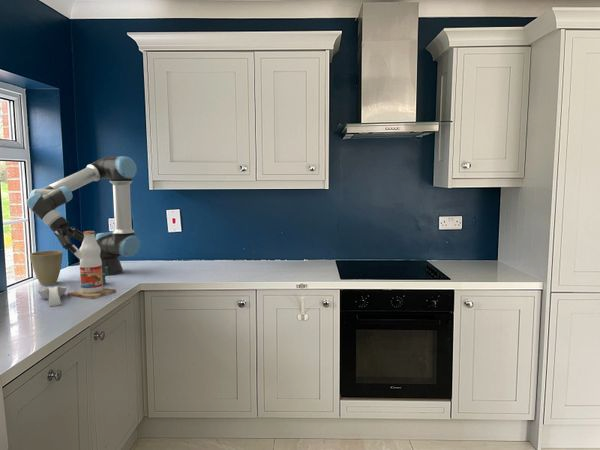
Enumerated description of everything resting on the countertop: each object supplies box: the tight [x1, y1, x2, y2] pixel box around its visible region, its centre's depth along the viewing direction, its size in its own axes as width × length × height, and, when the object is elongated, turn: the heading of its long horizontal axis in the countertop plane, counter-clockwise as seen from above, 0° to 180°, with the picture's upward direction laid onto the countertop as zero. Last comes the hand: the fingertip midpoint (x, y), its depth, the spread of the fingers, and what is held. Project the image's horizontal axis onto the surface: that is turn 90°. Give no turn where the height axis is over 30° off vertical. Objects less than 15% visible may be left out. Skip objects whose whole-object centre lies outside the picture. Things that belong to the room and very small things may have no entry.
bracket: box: [102, 266, 109, 286], centre depth 242 cm, size 9×9×9 cm
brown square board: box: [67, 287, 117, 300], centre depth 224 cm, size 14×15×1 cm
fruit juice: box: [78, 230, 104, 293], centre depth 223 cm, size 9×9×28 cm
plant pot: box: [29, 250, 63, 286], centre depth 245 cm, size 15×15×16 cm
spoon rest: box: [37, 285, 67, 307], centre depth 214 cm, size 24×12×7 cm, turn 31°
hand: (89, 254), depth 222 cm, fingers open, 13 cm apart
